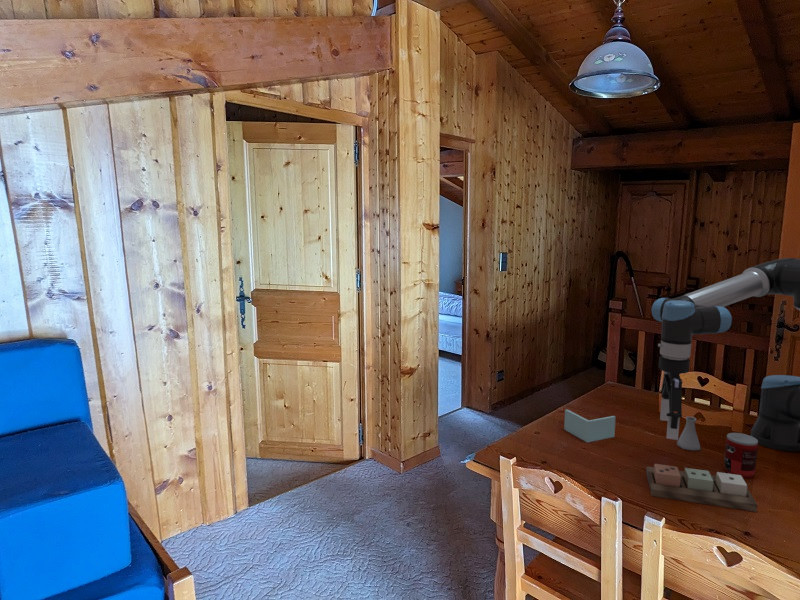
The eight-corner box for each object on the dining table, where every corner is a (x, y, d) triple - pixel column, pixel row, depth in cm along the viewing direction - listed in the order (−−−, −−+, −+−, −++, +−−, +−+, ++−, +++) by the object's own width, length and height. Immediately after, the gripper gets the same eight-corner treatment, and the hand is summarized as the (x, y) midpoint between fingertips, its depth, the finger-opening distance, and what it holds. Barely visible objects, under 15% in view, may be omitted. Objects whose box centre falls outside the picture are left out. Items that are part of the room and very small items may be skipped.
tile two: (707, 481, 148) (708, 470, 148) (712, 491, 143) (713, 480, 142) (683, 478, 150) (684, 467, 150) (687, 488, 145) (688, 477, 144)
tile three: (676, 477, 151) (677, 466, 150) (679, 487, 145) (680, 476, 145) (653, 473, 153) (654, 463, 152) (656, 483, 147) (656, 472, 147)
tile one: (739, 485, 146) (741, 474, 145) (746, 496, 140) (747, 485, 140) (715, 482, 148) (716, 471, 147) (720, 493, 142) (721, 481, 142)
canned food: (725, 463, 163) (728, 430, 161) (756, 471, 158) (759, 437, 156) (721, 472, 157) (724, 438, 155) (753, 481, 152) (756, 445, 150)
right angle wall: (614, 436, 183) (615, 416, 182) (587, 442, 179) (588, 421, 177) (590, 424, 194) (591, 405, 193) (564, 429, 190) (565, 409, 188)
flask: (704, 452, 171) (706, 423, 169) (680, 450, 172) (682, 421, 170) (696, 442, 178) (699, 415, 176) (673, 441, 179) (675, 413, 177)
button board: (741, 485, 149) (742, 479, 149) (756, 511, 136) (757, 504, 136) (645, 472, 157) (646, 466, 157) (651, 495, 144) (652, 489, 144)
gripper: (654, 345, 157) (649, 411, 160) (665, 367, 134) (659, 445, 137) (682, 347, 154) (676, 414, 158) (698, 370, 131) (691, 449, 134)
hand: (668, 429), depth 147 cm, fingers open, 13 cm apart
